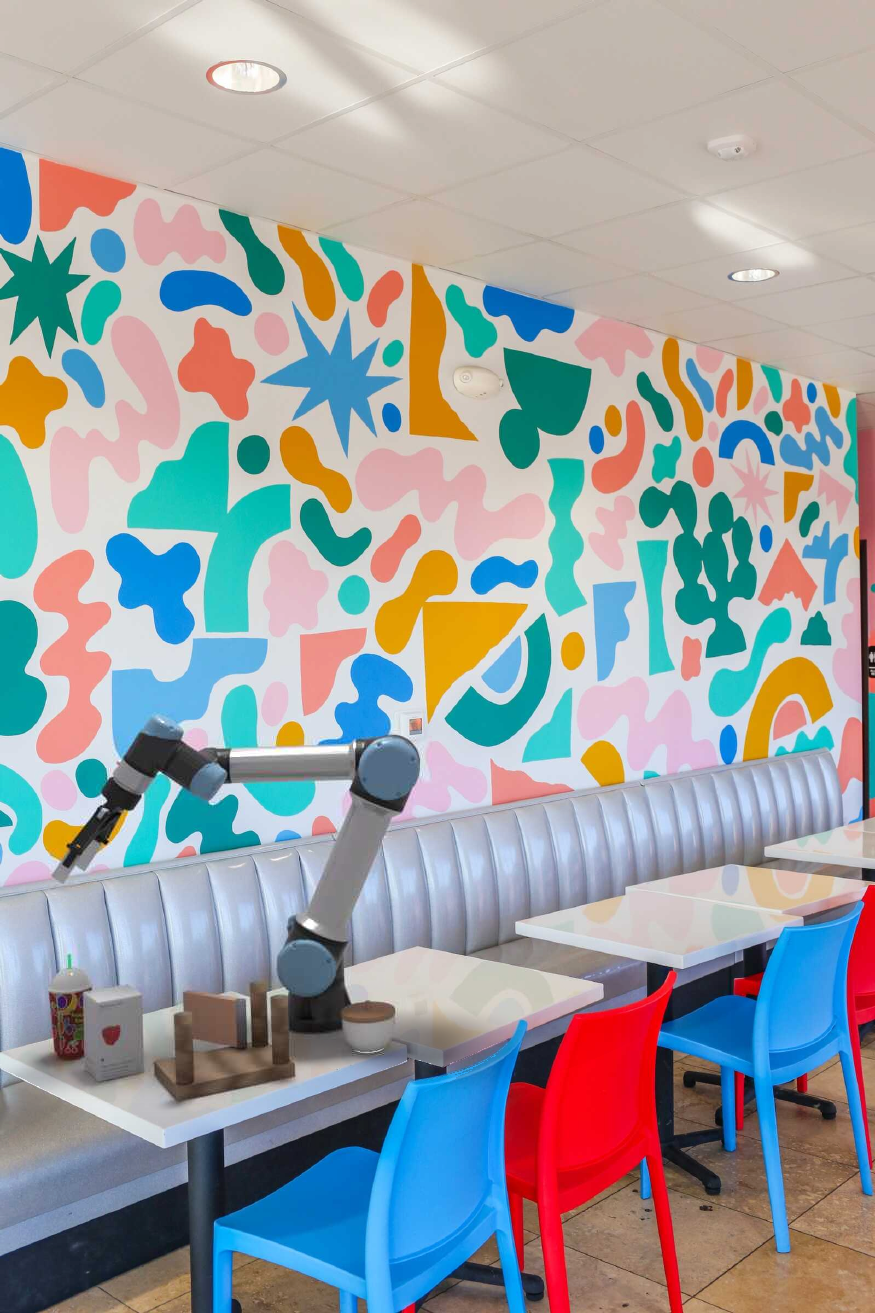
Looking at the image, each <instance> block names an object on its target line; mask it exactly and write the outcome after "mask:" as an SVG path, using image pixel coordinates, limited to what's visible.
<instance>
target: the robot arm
mask: <svg viewBox="0 0 875 1313" xmlns="http://www.w3.org/2000/svg"><path fill="white" fill-rule="evenodd" d="M184 735H185V731H184V729H183V727H181V726H180V725H179V724H177V722H175V721H173V720H172V719H170V718H168V717H167V716H165V715H163V714H158V713H157V714H153V715H152V716H150V717H149V719H148V720H147V721H146V723H145V724H144V726H143V727H142V728H141V729H140V730H139V732H138V734H137V736H136V737H135V739H134V740H133V741H132V743H131V745H130V747H129V748H128V749H127V751H126V753H125V754H124V755H123V757H122V759H121V760H120V759H118V760H117V761H116V762H115V763H116V765H117V767H116V768H115V769H114V770H113V772H112V776H110V777H109V778H108V779H107V780H106V782H105V784H104V785H103V786H102V788H101V791H100V792H101V795H102V797H103V798H105V800H106V802H105V803H103V805H102V804H100V805H98V807H97V808H96V810H95V811H94V813H93V814H92V816H91V817H90V818H89V819H88V821H87V822H86V824H85V825H84V826H83V827H82V828H81V830H80V831H79V832H78V834H77V835H76V836H75V838H74V839H73V840H72V841H71V843H69V842H68V843H67V844H66V846H65V848H67V849H68V850H67V851H66V853H65V854H64V856H63V857H62V859H61V860H60V862H59V863H58V865H57V867H56V868H55V870H54V871H52V874H51V875H50V876H51V878H53V879H55V880H56V881H58V882H59V883H60V884H63V885H64V884H65V882H66V881H67V879H68V878H69V876H70V874H71V873H72V871H73V870H74V869H75V867H77V868H78V869H80V870H82V871H83V872H86V870H87V868H88V867H89V866H90V865H91V863H92V861H93V860H94V859H95V856H96V855H97V854H98V852H99V851H100V849H101V848H102V847H103V845H104V846H107V845H108V844H109V842H110V841H109V840H108V839H110V837H111V835H112V833H113V831H114V829H115V827H116V825H117V823H118V822H119V820H120V818H121V816H122V815H123V813H124V811H127V812H131V811H134V810H135V809H136V807H137V806H138V804H139V802H140V801H141V800H142V798H143V796H142V795H143V794H145V793H147V791H148V789H149V788H150V786H151V785H152V784H153V782H154V780H155V779H156V777H157V775H158V773H159V772H160V773H161V774H163V775H164V776H165V777H166V778H168V779H170V780H172V781H173V782H175V783H176V785H179V786H180V787H181V788H183V789H185V790H186V791H188V792H189V793H191V795H192V796H194V797H197V798H199V799H201V800H202V801H204V802H210V801H211V800H212V799H213V798H214V797H215V796H216V795H217V793H218V792H219V791H220V789H221V787H222V786H223V785H231V784H251V783H252V784H254V783H291V782H292V783H293V782H294V783H295V782H323V781H324V782H325V781H327V782H328V781H351V784H350V787H349V789H348V793H349V795H350V798H351V803H350V807H349V808H348V812H347V813H346V816H345V818H344V821H343V824H342V826H341V827H340V830H339V833H338V835H337V838H336V840H335V843H334V844H333V847H332V849H331V852H330V854H329V857H328V859H327V862H326V863H325V866H324V868H323V872H321V873H322V874H321V876H320V878H319V881H318V883H317V885H316V888H315V890H314V893H313V894H312V897H311V900H310V902H309V905H308V907H307V909H306V911H304V912H301V913H299V914H293V915H291V916H289V917H288V918H287V926H286V930H287V938H286V940H285V941H284V944H283V947H282V949H280V951H279V952H278V954H277V959H276V974H277V978H278V980H279V981H280V984H281V985H282V987H283V988H285V990H286V991H288V993H287V996H288V1022H289V1032H290V1031H291V1032H294V1033H299V1034H300V1033H301V1034H302V1033H303V1034H318V1033H319V1034H320V1033H321V1034H323V1033H329V1032H335V1031H339V1030H343V1028H342V1017H341V1010H342V1009H343V1008H344V1007H346V1006H348V1005H351V1004H353V1003H352V1001H351V998H350V995H349V992H348V990H347V987H346V984H345V962H344V961H345V957H344V953H345V951H346V948H347V946H348V944H349V941H350V939H351V938H350V937H351V936H350V934H349V931H348V929H347V926H348V924H349V921H350V919H351V917H352V914H353V912H354V909H355V907H356V905H357V903H358V901H359V898H360V895H361V893H362V891H363V889H364V888H363V887H364V886H365V884H366V881H367V879H368V877H369V876H368V875H369V874H370V871H371V868H372V866H373V865H374V862H375V859H376V857H377V855H378V852H379V850H380V847H381V845H382V843H383V840H384V838H385V835H386V833H387V830H388V828H389V827H390V826H389V825H390V823H391V821H392V819H393V818H394V817H396V816H399V815H401V814H403V812H404V809H405V808H406V807H405V806H406V805H407V802H408V799H409V797H410V796H411V793H412V792H413V791H412V790H413V788H414V787H415V786H416V784H417V781H418V779H419V776H420V770H421V768H420V767H421V758H420V757H421V756H420V753H419V751H418V749H417V747H416V745H415V744H414V743H413V742H412V741H411V740H409V739H408V738H406V737H404V736H402V735H399V734H392V733H390V734H385V735H381V736H376V737H367V738H354V739H353V740H352V741H351V742H350V743H343V744H338V743H337V744H314V745H312V744H311V745H287V746H286V745H283V746H281V745H280V746H278V745H277V746H254V747H251V746H250V747H248V746H247V747H231V748H226V747H225V748H224V747H223V748H217V747H204V748H203V749H200V750H197V749H194V748H193V747H191V746H190V745H188V744H187V743H185V741H183V740H182V739H183V736H184Z"/></svg>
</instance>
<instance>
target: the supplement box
mask: <svg viewBox="0 0 875 1313" xmlns="http://www.w3.org/2000/svg"><path fill="white" fill-rule="evenodd" d="M83 1011H84V1056H83V1057H84V1059H83V1060H84V1069H85V1071H86V1072H88V1074H90V1075H91V1076H92V1077H93V1078H94V1080H96V1081H97V1082H99V1083H100V1082H104V1081H109V1080H113V1079H118V1078H122V1077H127V1076H132V1075H136V1074H141V1073H144V1072H145V1059H144V1058H145V1057H144V1055H145V1054H144V1052H145V1050H144V1025H143V1024H144V1021H143V1020H144V1018H143V1017H144V1016H143V994H142V993H141V992H140V991H138V990H137V989H135V988H134V987H132V986H131V985H129V984H123V985H122V984H121V985H116V986H111V987H104V988H99V989H94V990H93V989H92V991H87V992H83Z"/></svg>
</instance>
